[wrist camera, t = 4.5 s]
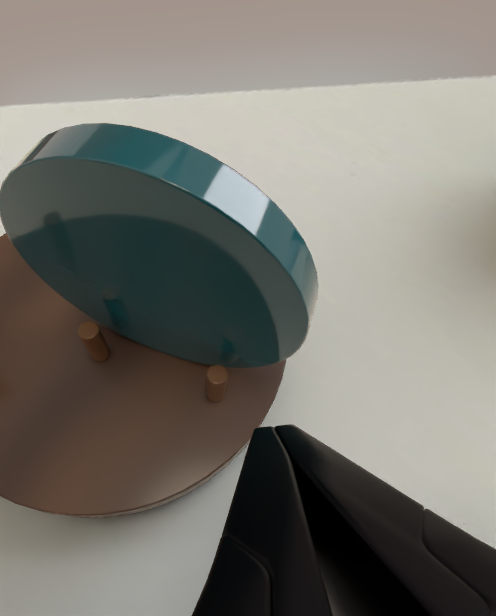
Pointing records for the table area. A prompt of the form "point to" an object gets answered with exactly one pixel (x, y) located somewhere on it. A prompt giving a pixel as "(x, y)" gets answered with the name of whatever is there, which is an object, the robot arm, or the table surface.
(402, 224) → the table surface
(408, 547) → the robot arm
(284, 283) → the dish rack
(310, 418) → the table surface
